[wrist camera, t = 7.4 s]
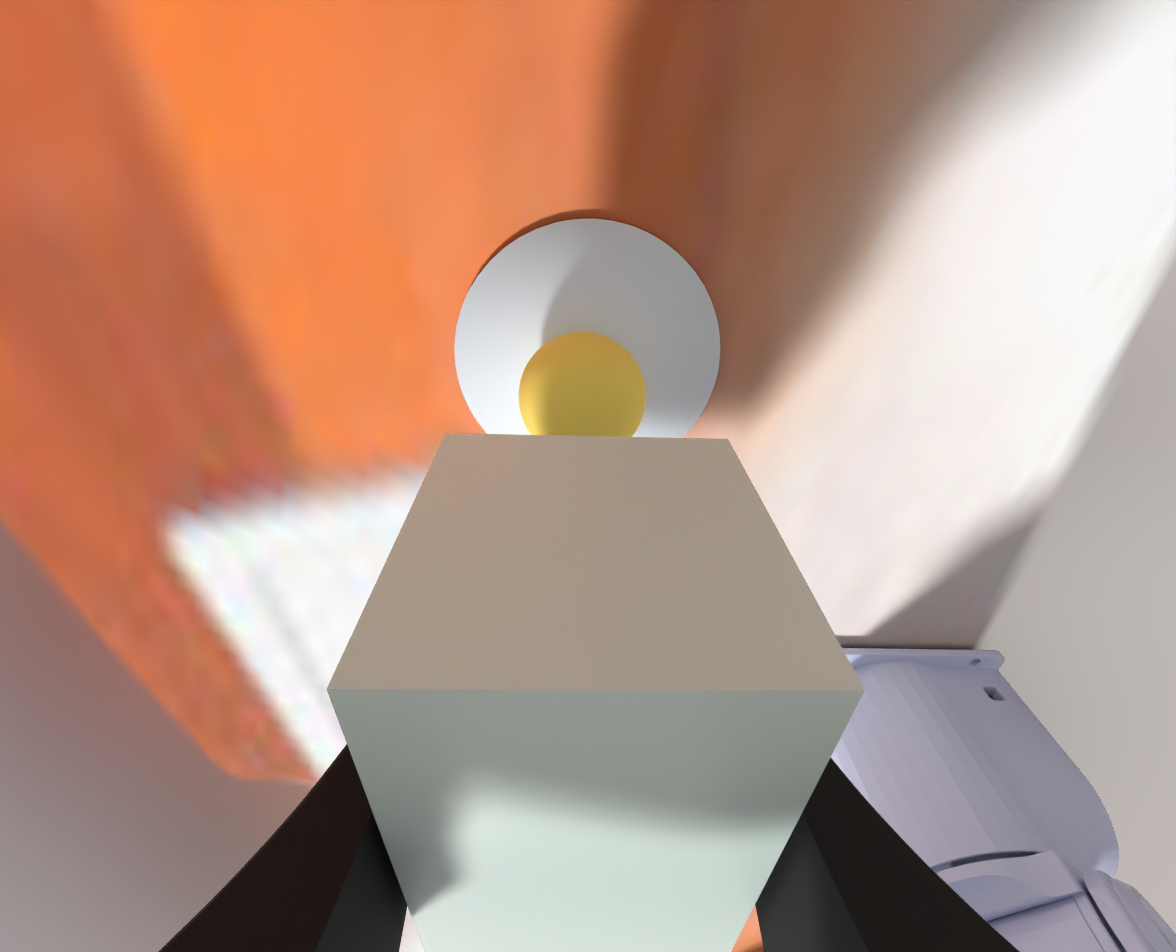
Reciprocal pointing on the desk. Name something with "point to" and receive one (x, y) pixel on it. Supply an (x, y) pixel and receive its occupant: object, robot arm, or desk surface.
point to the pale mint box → (589, 696)
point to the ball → (582, 388)
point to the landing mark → (589, 320)
